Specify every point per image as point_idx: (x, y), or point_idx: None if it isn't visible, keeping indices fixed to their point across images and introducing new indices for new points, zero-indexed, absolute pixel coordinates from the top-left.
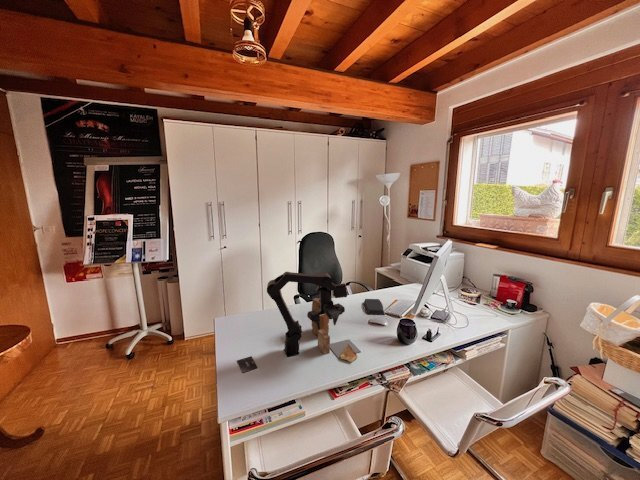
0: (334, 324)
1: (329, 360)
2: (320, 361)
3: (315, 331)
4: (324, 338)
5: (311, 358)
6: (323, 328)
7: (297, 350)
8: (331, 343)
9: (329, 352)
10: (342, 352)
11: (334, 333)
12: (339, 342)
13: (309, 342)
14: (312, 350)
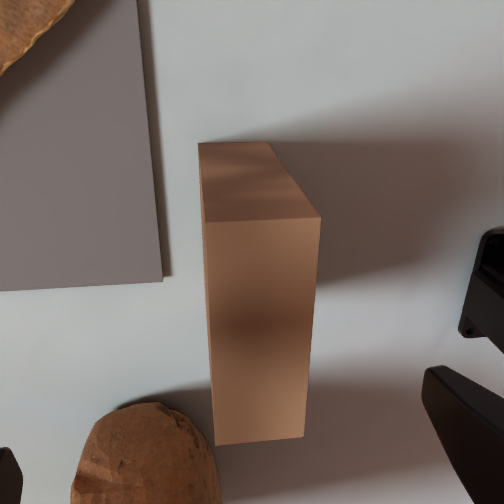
0: (5, 472)
1: (259, 3)
2: (364, 33)
3: (215, 472)
4: (318, 215)
5: (420, 127)
6: (153, 480)
7: (501, 267)
8: (113, 284)
9: (199, 144)
10: (48, 16)
11: (18, 425)
12: (12, 274)
13: (312, 361)
14: (345, 245)
